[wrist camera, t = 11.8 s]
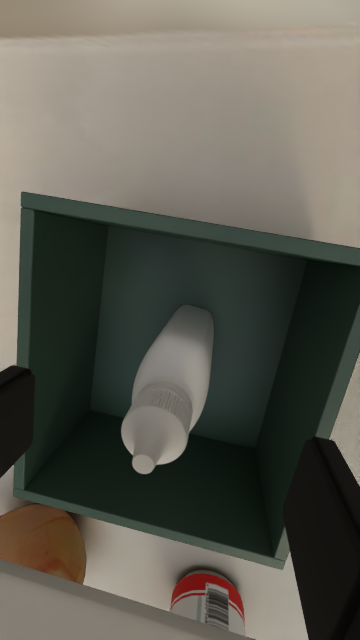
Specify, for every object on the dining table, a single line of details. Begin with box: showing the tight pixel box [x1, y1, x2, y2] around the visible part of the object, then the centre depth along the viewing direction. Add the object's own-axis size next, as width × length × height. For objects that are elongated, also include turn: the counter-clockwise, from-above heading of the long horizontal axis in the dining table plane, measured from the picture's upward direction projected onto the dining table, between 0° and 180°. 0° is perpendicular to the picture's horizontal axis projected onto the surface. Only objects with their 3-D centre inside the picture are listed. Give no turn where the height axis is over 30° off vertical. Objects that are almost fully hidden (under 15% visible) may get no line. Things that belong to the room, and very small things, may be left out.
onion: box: [0, 504, 87, 585], centre depth 22 cm, size 10×10×10 cm
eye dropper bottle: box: [121, 305, 214, 474], centre depth 15 cm, size 4×6×12 cm
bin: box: [13, 192, 360, 570], centre depth 17 cm, size 15×14×9 cm
